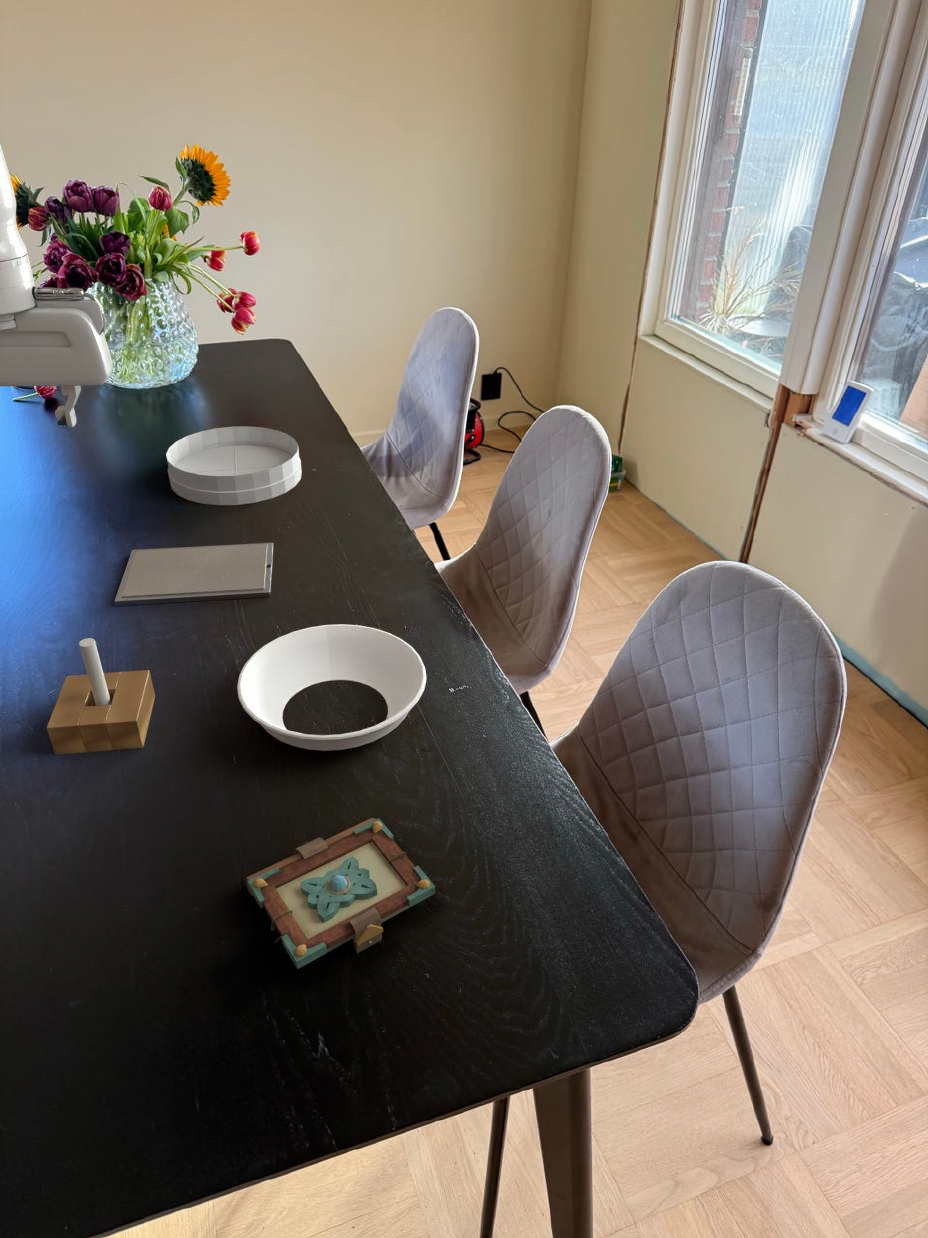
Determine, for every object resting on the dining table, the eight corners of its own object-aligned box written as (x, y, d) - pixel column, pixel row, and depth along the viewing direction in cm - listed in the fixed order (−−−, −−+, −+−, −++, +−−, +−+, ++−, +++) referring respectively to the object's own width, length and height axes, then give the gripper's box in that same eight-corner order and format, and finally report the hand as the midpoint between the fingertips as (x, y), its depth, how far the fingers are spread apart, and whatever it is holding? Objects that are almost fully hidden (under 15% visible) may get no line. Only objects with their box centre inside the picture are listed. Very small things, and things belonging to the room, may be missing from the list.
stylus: (102, 739, 91) (77, 647, 84) (105, 729, 92) (80, 638, 85) (117, 738, 91) (93, 646, 84) (120, 728, 92) (96, 637, 86)
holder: (58, 765, 87) (46, 727, 85) (76, 711, 94) (66, 675, 92) (145, 757, 88) (136, 720, 86) (157, 705, 96) (149, 669, 93)
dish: (166, 510, 136) (161, 481, 133) (172, 456, 154) (167, 430, 151) (307, 499, 140) (305, 470, 138) (297, 448, 158) (294, 422, 155)
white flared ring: (243, 797, 84) (235, 749, 81) (244, 677, 100) (237, 632, 97) (441, 772, 88) (442, 724, 84) (411, 660, 104) (411, 616, 100)
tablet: (115, 606, 112) (113, 599, 112) (133, 554, 124) (131, 548, 123) (270, 597, 115) (269, 590, 114) (273, 547, 127) (273, 541, 126)
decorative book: (191, 926, 72) (181, 886, 69) (373, 836, 80) (371, 798, 78) (256, 1054, 63) (248, 1015, 60) (453, 938, 71) (455, 899, 69)
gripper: (105, 280, 86) (129, 413, 93) (-116, 278, 83) (-72, 416, 90) (91, 295, 80) (118, 435, 88) (-145, 293, 78) (-96, 438, 85)
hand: (20, 425), depth 89 cm, fingers open, 8 cm apart
